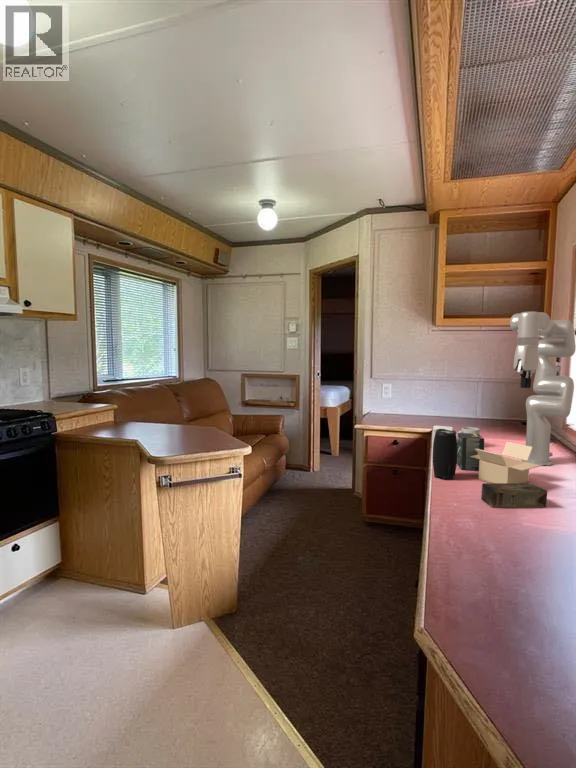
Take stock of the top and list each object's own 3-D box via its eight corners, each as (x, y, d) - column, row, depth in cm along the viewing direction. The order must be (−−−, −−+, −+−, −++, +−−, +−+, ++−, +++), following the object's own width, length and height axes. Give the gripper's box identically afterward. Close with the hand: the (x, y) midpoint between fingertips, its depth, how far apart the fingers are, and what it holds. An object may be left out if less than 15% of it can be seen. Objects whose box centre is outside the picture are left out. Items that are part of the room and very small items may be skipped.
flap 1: (475, 448, 161) (475, 449, 161) (501, 454, 152) (500, 455, 152) (481, 458, 163) (481, 459, 163) (506, 465, 154) (506, 465, 154)
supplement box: (431, 458, 196) (432, 428, 194) (432, 454, 204) (433, 425, 203) (451, 460, 192) (452, 429, 191) (451, 456, 200) (452, 426, 199)
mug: (479, 446, 222) (480, 428, 221) (477, 449, 214) (478, 430, 213) (458, 443, 228) (459, 425, 227) (455, 446, 220) (456, 428, 219)
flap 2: (501, 454, 170) (502, 454, 170) (527, 460, 161) (527, 460, 161) (506, 441, 171) (507, 441, 171) (532, 446, 162) (532, 447, 162)
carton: (488, 471, 176) (489, 452, 175) (541, 486, 157) (542, 465, 156) (467, 476, 169) (468, 456, 168) (520, 492, 150) (521, 470, 149)
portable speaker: (431, 473, 173) (433, 427, 171) (455, 475, 170) (457, 429, 168) (432, 478, 165) (433, 431, 163) (456, 481, 162) (458, 433, 160)
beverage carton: (547, 508, 135) (549, 489, 135) (491, 509, 135) (492, 489, 134) (532, 499, 143) (533, 481, 143) (479, 500, 143) (480, 481, 142)
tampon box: (483, 471, 175) (485, 438, 174) (461, 470, 177) (462, 437, 176) (477, 464, 186) (478, 433, 185) (456, 463, 188) (457, 432, 187)
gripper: (529, 343, 171) (526, 386, 172) (507, 342, 163) (505, 387, 165) (547, 342, 164) (545, 387, 166) (526, 342, 157) (523, 389, 159)
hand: (525, 387), depth 165 cm, fingers closed
